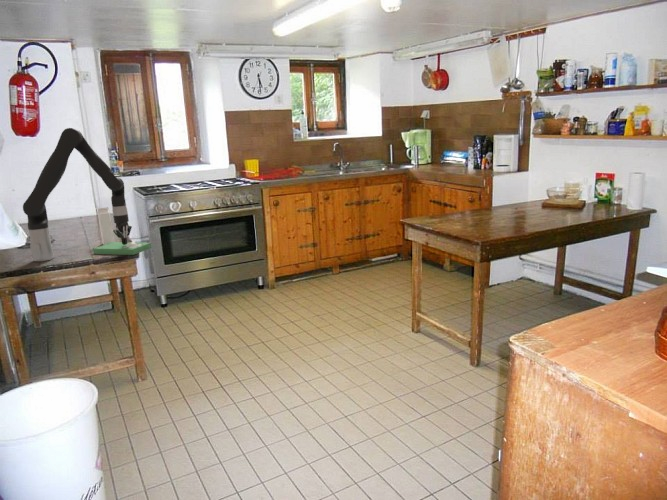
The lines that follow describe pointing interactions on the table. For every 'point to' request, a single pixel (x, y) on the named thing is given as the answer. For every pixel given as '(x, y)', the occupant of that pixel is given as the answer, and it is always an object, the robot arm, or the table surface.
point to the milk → (105, 225)
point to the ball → (132, 244)
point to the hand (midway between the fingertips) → (125, 244)
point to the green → (121, 248)
